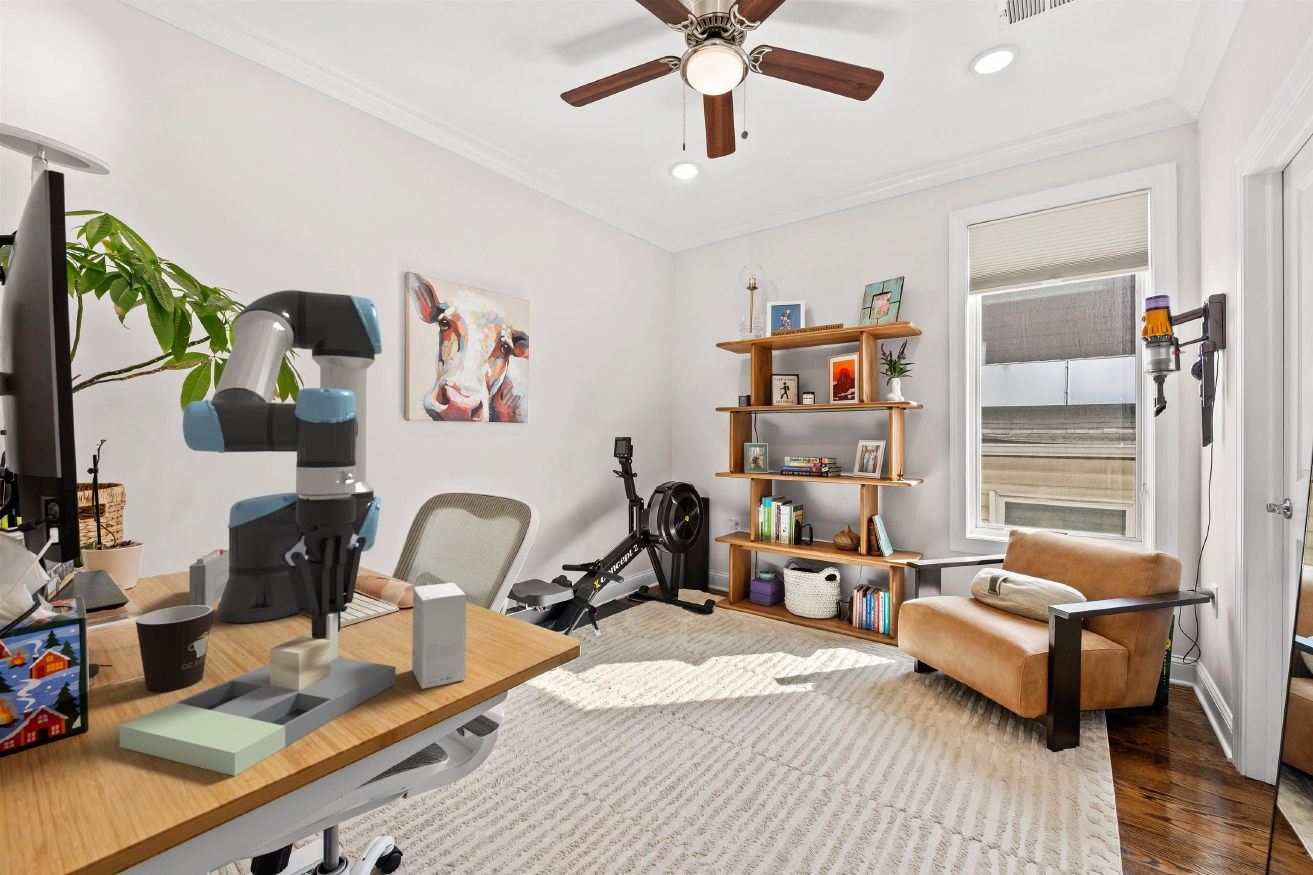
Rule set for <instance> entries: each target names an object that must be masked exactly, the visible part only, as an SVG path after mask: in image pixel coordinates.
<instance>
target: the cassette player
mask: <svg viewBox="0 0 1313 875" xmlns="http://www.w3.org/2000/svg"><path fill="white" fill-rule="evenodd" d="M228 578H229V549H223V548H222V549H215V550H213V551H212V552H209V553H208V554H205V555H203V556H201V557H199V558H197V559H196V562H195V563H192V564H190V565H189V605H204V606H210V607H211V606H212V605H214V604H215V603H216V602H218V601H220V600H221V598H222V595H223V592H224V589H225V586H226V584H227V581H228Z"/></svg>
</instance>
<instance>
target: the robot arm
mask: <svg viewBox="0 0 1313 875" xmlns="http://www.w3.org/2000/svg"><path fill="white" fill-rule="evenodd" d="M377 310H378V309H377V305H376V304H375V302H374V301H373V300H372V299H370V298H368V297H361V296H355V295H351V294H349V295H348V294H337V293H326V292H325V293H324V292H315V291H314V292H313V291H305V290H304V291H302V290H296V289H289V290H280V291H275V292H272V293H269V294H266V295H264V296H261V297H259V298H257V299H255V301H252V302H251V303H250V304H248V305H246V307H245V308H244V309H242V311H240V312H239V314H238V316H237V317H236V320H235V321H234V325H233V328H232V329H233V330H232V332H233V337H234V343H233V344H232V345H233V346H232V347H231V351H230V353H229V354H228V358H227V360H226V363H225V365H224V368H223V370H222V373H221V376H220V378H219V381H218V383H217V386H216V388H215V391H214V393H213V395H212V398H211V400H210V399H205V400H195V401H192V402H188V404H187V405H186V406H185V408H184V410H183V411H184V412H183V415H182V416H183V418H182V433H183V439H184V441H185V442H184V443H185V444H186V446H187V447H188V448H189V449H190V450H193V451H194V452H211V453H212V452H215V453H216V452H217V453H220V454H224V453H254V452H255V453H257V452H261V453H262V452H263V453H264V452H265V453H266V452H270V453H271V452H273V453H274V452H276V453H277V452H279V453H280V452H281V453H283V452H284V453H285V452H287V453H289V452H290V453H291V452H292V453H294V452H295V453H296V462H295V463H296V464H295V465H296V467H295V492H282V493H281V492H280V493H275V494H274V493H273V494H267V495H261V496H255V497H250V498H246V499H242V500H239V501H237V502H235V503H234V504H232V506H231V507H230V510H229V520H228V521H229V522H228V525H227V528H228V550H229V578H228V581H227V584H226V586H225V589H224V592H223V595H222V598H220V600H219V601H220V602H219V603H218V605H217V619H218V620H219V621H222V622H226V623H235V624H237V623H239V624H242V623H243V624H245V623H247V624H248V623H257V622H267V621H271V620H272V621H273V620H278V619H282V618H286V617H289V616H293V615H296V614H298V615H303V616H309V617H310V618H311V638H317V639H325V640H330V661H331V660H333V659H336V658H338V657H339V648H338V647H339V632H340V630H341V621H342V620H341V617H342V616H341V614H342V613H344V612H346V611H347V609H348V605H346V604H351V603H352V602H353V599H354V595H355V594H354V593H355V589H356V584H357V578H358V574H359V568H360V562H361V556H362V553H364V552H365V553H366V552H368V551H370V550H371V549H373V547H374V545H375V541H376V537H377V531H378V527H379V526H378V525H379V517H380V509H381V502H382V501H381V500H382V499H381V497H379V496H376V495H375V496H374V488H373V487H372V486H371V485H370V483H368V482H367V477H366V476H367V465H366V464H367V372H368V371H367V370H368V368H370V367H371V366H372V365H373V364H374V363H375V360H376V359H375V356H376V355H381V354H382V353H383V348H382V347H383V346H382V340H381V330H380V323H379V316H378V311H377ZM290 349H301V350H311V360H313V361H314V362H315V363H316V364H317V365H318V366H319V367H320V368H319V369H320V372H319V373H320V374H319V377H320V379H319V384H320V385H319V387H305V388H302V389H300V390H299V391H298V392H297V394H296V403H285V402H284V403H283V402H282V403H281V402H272V401H273V398H274V393H275V390H276V385H277V382H278V378H279V374H280V369H281V367H282V363H283V358H284V354H286V353H287V352H288V351H289V350H290Z"/></svg>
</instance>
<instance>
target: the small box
mask: <svg viewBox="0 0 1313 875" xmlns="http://www.w3.org/2000/svg"><path fill="white" fill-rule="evenodd" d="M412 590H413V593H412V596H413V597H412V653H411V655H412V656H411V670H412V672H413V674H414V676H415V678H416V681H417V682H418V685H419V686H420V688H421V689H422V690H424V689H428V688H429V689H430V688H433V687H438V686H442V685H443V686H444V685H448V684H452V683H456V682H462V681H465V680H466V664H467V663H466V662H467V661H466V651H467V648H466V647H467V646H466V643H467V642H466V640H467V638H466V636H467V635H466V634H467V632H466V631H467V626H466V624H467V594H466V593H465V592H464V591H463V590H462V589H461V587H459V586H458V585H457V584H456V583H455V582H447V583H438V584H437V583H436V584H429V585H420V586H413V589H412Z"/></svg>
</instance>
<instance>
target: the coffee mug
mask: <svg viewBox="0 0 1313 875" xmlns="http://www.w3.org/2000/svg"><path fill="white" fill-rule="evenodd" d="M213 622H214V614H213V607H212V606H211V605H210V606H204V605H190V604H189V605H179V606H173V607H168V608H161V609H158V610H153V611H150V612H147V613H144V614H141V615H140V616H138V617H136V619H135V625H136V632H137V638H138V639H137V640H138V644H139V651H140V656H141V662H142V663H141V664H142V671H143V677H144V683H145V689H146V690H145V691H147V692H150V693H157V694H158V693H159V694H160V693H168V692H174V691H179V690H181V689H185V688H189V687H192V686H194V685H196V684H198V683H200V681H202V680H203V679H204V672H205V666H206V659H207V658H206V657H207V651H208V646H209V637H210V630H211V628H212V625H213Z"/></svg>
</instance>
